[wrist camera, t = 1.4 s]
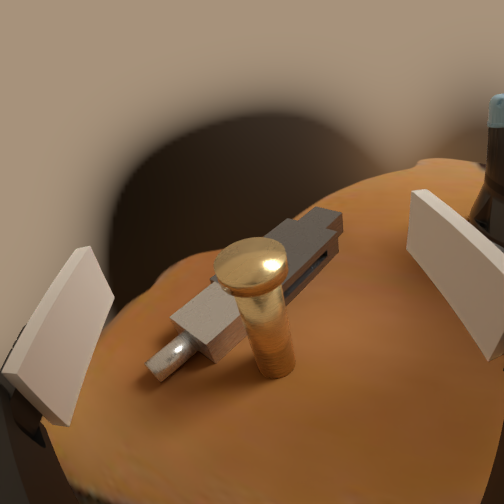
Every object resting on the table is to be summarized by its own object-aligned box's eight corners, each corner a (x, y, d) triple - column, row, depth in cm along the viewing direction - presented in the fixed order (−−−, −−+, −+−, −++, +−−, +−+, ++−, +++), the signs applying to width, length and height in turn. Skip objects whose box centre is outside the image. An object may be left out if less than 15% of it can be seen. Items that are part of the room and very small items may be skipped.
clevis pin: (273, 335, 35) (248, 231, 27) (313, 356, 32) (300, 248, 24) (240, 368, 32) (199, 267, 24) (280, 394, 29) (250, 292, 21)
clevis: (307, 222, 54) (305, 204, 52) (354, 234, 48) (353, 215, 46) (140, 361, 35) (127, 343, 33) (181, 403, 30) (168, 387, 28)
